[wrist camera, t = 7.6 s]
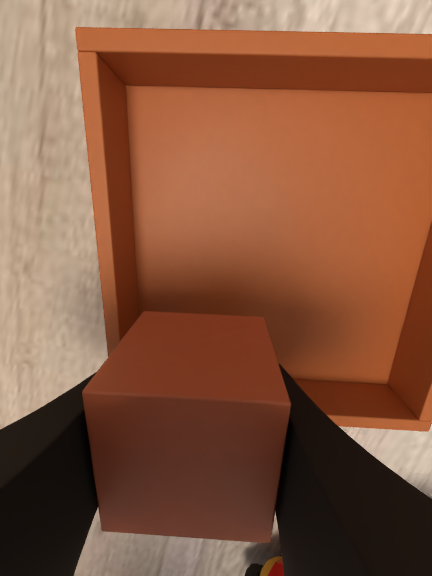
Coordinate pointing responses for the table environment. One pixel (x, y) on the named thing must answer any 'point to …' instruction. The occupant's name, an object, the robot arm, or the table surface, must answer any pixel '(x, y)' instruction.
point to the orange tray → (273, 199)
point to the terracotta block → (189, 428)
